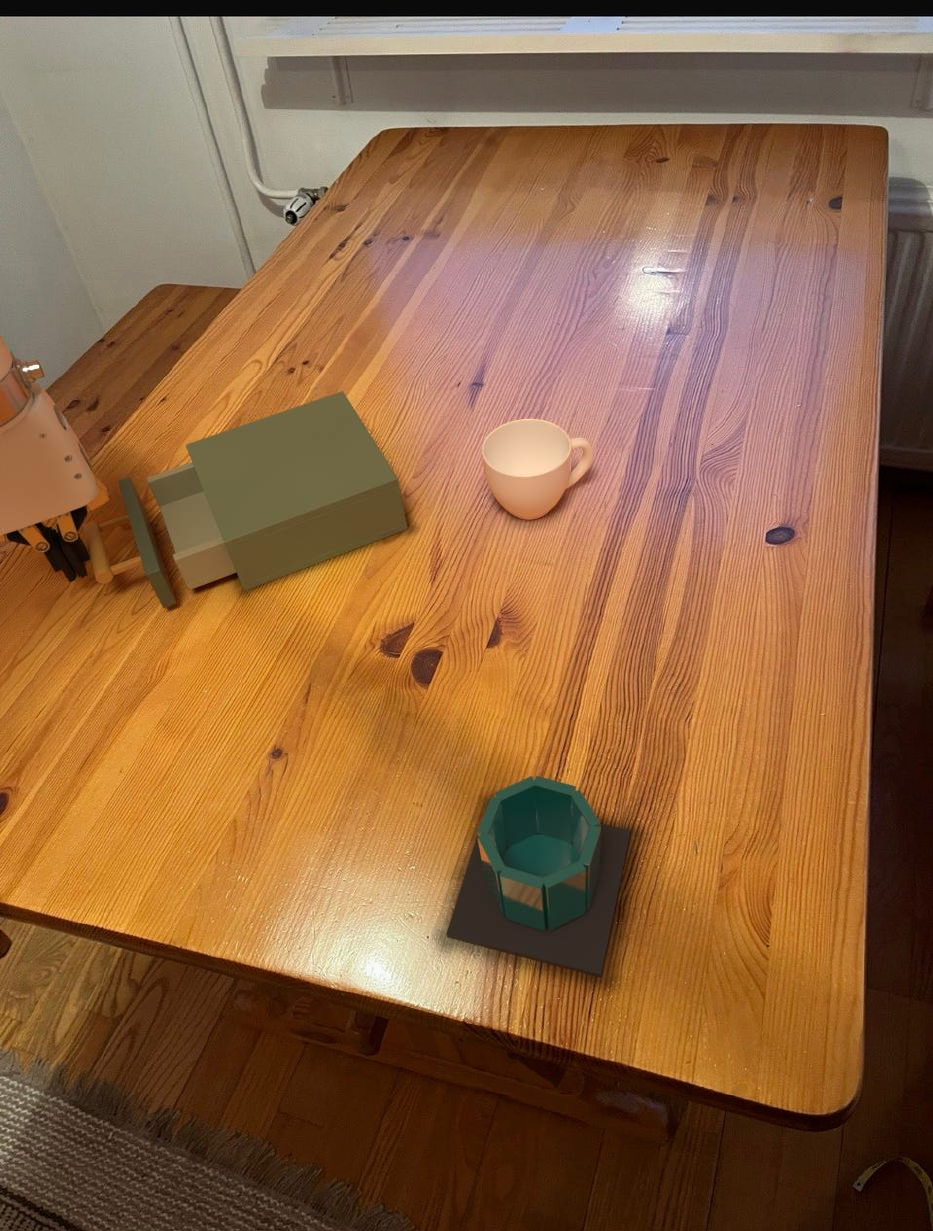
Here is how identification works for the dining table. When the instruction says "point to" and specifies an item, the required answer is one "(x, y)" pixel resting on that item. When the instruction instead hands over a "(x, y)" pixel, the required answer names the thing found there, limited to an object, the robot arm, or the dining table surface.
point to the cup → (532, 465)
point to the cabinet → (297, 489)
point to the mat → (562, 946)
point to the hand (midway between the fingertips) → (76, 568)
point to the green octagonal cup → (540, 852)
